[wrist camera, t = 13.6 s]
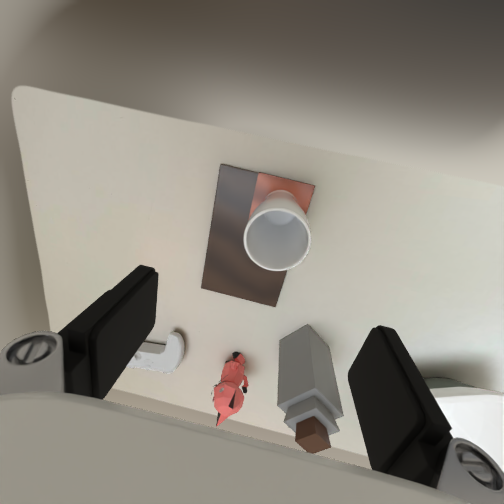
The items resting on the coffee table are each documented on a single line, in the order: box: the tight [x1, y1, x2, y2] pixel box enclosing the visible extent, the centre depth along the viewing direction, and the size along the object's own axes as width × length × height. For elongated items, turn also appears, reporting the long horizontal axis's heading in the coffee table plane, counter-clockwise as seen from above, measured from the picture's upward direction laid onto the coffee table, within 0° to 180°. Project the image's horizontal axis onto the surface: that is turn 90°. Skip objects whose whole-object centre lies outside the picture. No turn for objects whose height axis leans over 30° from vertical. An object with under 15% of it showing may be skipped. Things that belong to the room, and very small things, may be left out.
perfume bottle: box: [277, 324, 344, 454], centre depth 41 cm, size 7×7×18 cm
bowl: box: [423, 377, 504, 472], centre depth 47 cm, size 22×23×8 cm
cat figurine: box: [211, 352, 248, 426], centre depth 48 cm, size 7×7×12 cm
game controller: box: [127, 332, 185, 373], centre depth 52 cm, size 14×4×10 cm
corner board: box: [201, 164, 315, 307], centre depth 42 cm, size 22×14×1 cm, turn 168°
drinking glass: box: [244, 190, 311, 271], centre depth 31 cm, size 7×7×15 cm
